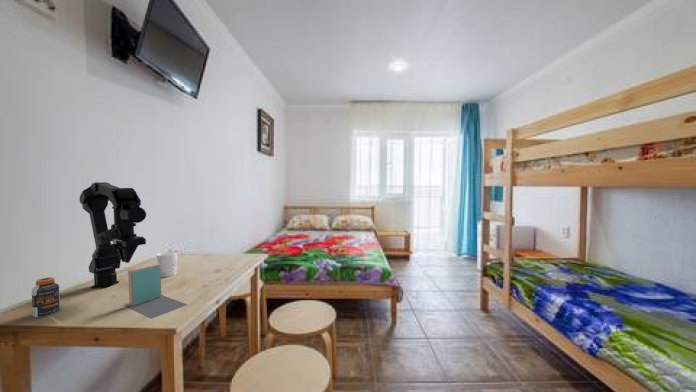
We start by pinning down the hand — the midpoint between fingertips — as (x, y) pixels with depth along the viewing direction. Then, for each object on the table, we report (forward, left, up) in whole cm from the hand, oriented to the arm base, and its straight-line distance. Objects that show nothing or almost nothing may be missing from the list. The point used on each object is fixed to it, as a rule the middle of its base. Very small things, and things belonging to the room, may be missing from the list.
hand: (125, 262), depth 104 cm
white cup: (+2, +21, -12) cm, 24 cm away
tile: (+13, -8, -12) cm, 19 cm away
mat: (+19, -11, -12) cm, 25 cm away
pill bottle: (-13, -16, -12) cm, 24 cm away
